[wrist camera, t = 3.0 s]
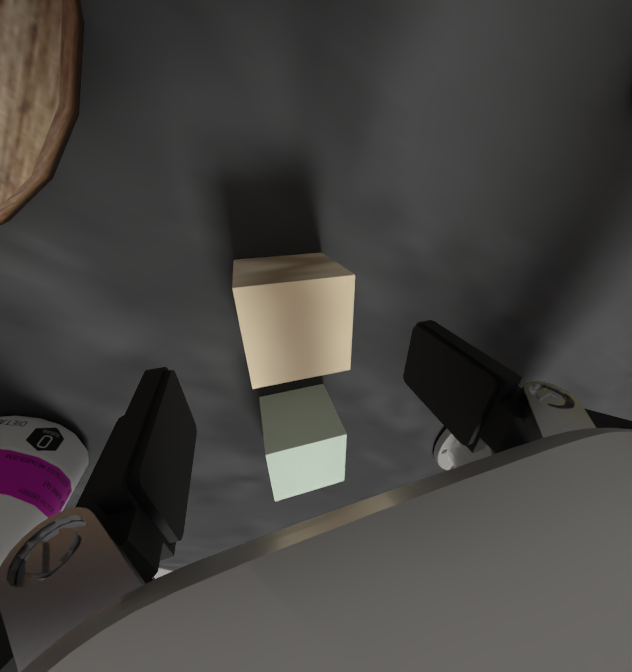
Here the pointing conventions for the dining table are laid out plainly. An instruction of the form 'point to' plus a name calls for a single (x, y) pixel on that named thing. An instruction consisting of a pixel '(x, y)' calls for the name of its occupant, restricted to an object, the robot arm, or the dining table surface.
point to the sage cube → (302, 441)
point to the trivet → (36, 93)
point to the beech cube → (294, 316)
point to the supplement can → (35, 474)
